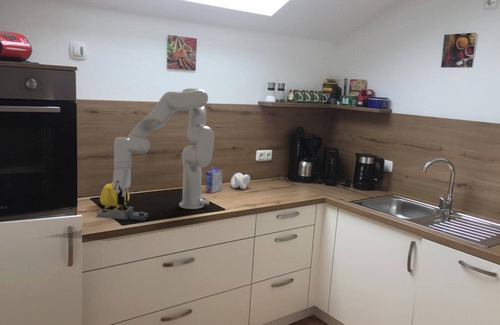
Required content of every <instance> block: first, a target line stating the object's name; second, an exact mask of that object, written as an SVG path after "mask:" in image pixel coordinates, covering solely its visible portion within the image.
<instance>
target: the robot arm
mask: <svg viewBox="0 0 500 325" xmlns="http://www.w3.org/2000/svg"><path fill="white" fill-rule="evenodd" d="M208 101H209V95H208V93H207V91H205V90H203V89H200V88H193V87H192V88H190V87H189V88H185V89H183V90H182V91H167V92H165V93H164V94H163V95H162V97H161V98H160V99H159V100H158V102H157V103H156V104H155V106H154V107H153V109H152V110H151V111H150V113H148V115H147V116H146V117H144V118H143V119H142V120H140V121H139V122H138V123H137V124H136V125H135V126H134V127H133V129H132V130H131V131H130V133H129V134H128V135H127V136H117V137H116V138H114V142H113V151H114V153H113V168H114V170H113V175H112V176H113V177H112V182H113V190H116V191H115V193H117V204H118V205H124V190H125V189H126V203H127V204H128V202H129V201H128V192H129V188H130V187H131V185H132V184H131V183H132V174H131V173H132V172H131V170H132V154H140V155H141V154H142V155H143V154H146V153H147V152H149V150H150V149H151V142H150V140H148V139H147V138H146V137H147V136H148V135H149V134H151V133H152V132H153V131H156V130H157V129H160V128H162V127H164V126H165V125H166V124H167V123H168V121H169V119H170V118H171V117H172V115H173V114H174V112H175V111H188V112H189V114H188V115H189V116H188V125H187V133H186V134H187V135H186V136H187V137H186V138H187V139H188V141H189V142H191V143H193V144H196V145H193V144H192V145H191V144H190V145H187V146H185V147H184V148H183V150H182V152H181V160H182V161H181V162H182V171H183V172H182V196H181V197H182V200H181V201H180V202H179V206H178V207H180V208H182V209H187V210H197V209H198V210H199V209H202V208H204V205H210V201H209V199H204V198H203V196H202V178H203V171H202V170H203V169H202V168H206V167H208V166H209V165H210V163H211V161H212V158H213V152H214V147H215V146H214V144H215V133H214V131H213V129H212V128H211V127H210V126H207V125H206V124H207V109H206V107H205V106H206V105H207V103H208ZM120 188H121V189H120ZM120 191H122V193H121V192H120Z"/></svg>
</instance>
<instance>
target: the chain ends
mask: <svg viewBox="0 0 500 325" xmlns="http://www.w3.org/2000/svg"><path fill="white" fill-rule="evenodd" d="M96 213H97V215H96V216H97V217H101V218H102V217H103V218H111V219H114V220H115V219H116V220H124V221H127V220H132V221H133V220H135V221H136V220H137V221H145V220H148V218H149V212H145V211H140V212H139V211H134V206H128V205H126V209H124V210H120V209H119V206H115V207H114V208H113V209H109V208H102V209H100V210H98V211H97V212H96Z"/></svg>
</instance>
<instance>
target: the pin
mask: <svg viewBox="0 0 500 325" xmlns="http://www.w3.org/2000/svg"><path fill="white" fill-rule="evenodd" d="M120 189H121V188H120ZM120 192H121V193H122V191H120ZM126 206H127V204H126V189H125V190H124V205H119V209H120V210H124V209H126Z"/></svg>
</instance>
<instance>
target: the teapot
mask: <svg viewBox="0 0 500 325" xmlns="http://www.w3.org/2000/svg"><path fill="white" fill-rule="evenodd" d="M115 191H116V190H113V181H112V182H111V183H106V184H105V185H104V187H103V188H102V190H101V193H100V197H99V201H100V204H101V205H102V206H104V207H103V209H110V208H111V207H117V206H119V205H118V204H117V193H115ZM129 201H130V193H129V191H128V202H129ZM128 202H127V203H126V205H127V204H128Z"/></svg>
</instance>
